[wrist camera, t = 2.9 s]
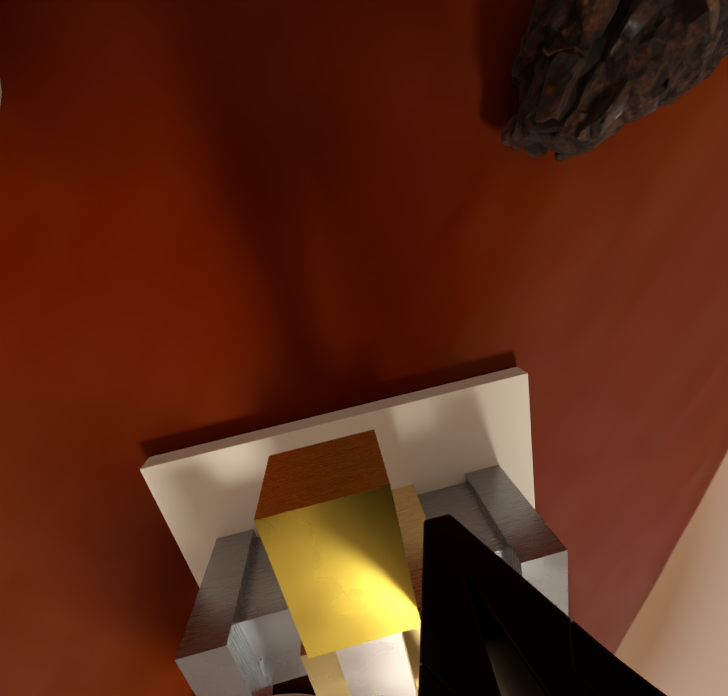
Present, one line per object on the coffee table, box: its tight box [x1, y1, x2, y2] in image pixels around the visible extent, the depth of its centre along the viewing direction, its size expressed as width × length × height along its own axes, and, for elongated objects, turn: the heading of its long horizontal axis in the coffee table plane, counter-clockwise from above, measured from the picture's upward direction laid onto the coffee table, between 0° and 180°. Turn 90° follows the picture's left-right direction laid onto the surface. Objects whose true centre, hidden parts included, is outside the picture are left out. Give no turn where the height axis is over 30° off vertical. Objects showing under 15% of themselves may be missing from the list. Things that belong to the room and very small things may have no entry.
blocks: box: [175, 465, 568, 696], centre depth 16 cm, size 6×16×7 cm, turn 101°
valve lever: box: [254, 429, 420, 696], centre depth 10 cm, size 14×3×3 cm, turn 12°
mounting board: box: [140, 367, 535, 588], centre depth 20 cm, size 15×20×1 cm
